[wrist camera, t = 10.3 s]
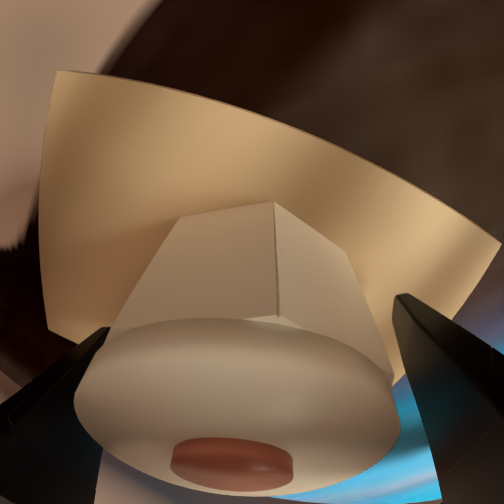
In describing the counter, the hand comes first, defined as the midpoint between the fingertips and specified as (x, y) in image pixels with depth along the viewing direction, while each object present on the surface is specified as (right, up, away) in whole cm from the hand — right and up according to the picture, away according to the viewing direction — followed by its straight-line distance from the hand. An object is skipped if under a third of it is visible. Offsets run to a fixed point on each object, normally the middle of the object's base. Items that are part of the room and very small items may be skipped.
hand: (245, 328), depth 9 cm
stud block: (0, +1, +2) cm, 2 cm away
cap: (0, +1, +1) cm, 1 cm away
